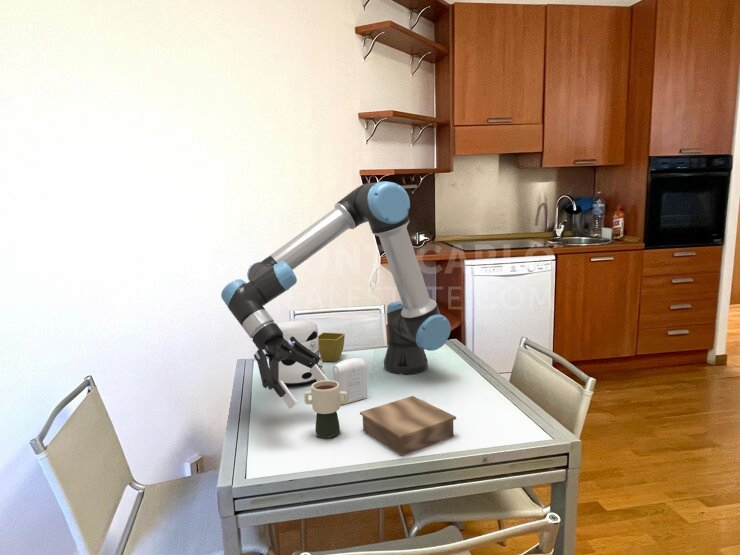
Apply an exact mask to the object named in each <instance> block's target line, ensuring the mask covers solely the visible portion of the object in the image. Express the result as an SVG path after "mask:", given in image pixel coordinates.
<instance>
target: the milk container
mask: <svg viewBox="0 0 740 555" xmlns="http://www.w3.org/2000/svg"><path fill="white" fill-rule="evenodd" d="M276 324H277V325H278V327H279V328H280V329H281V331H282V332H283V338H284V339H285V340H289V339H290V338H291V337H292V336H293V337H295V339H296V340H297V341H298V342H299V343H301V344H302V345H303V346H305V347H306V348H308V349H309V350H310V351H312V352H313V353H315V354H316V355H317V356H319V357H320V360H319V362H318V365H319V367H320V368H321V369H322V370H323V361H322V358H321V355H320V352H319V339H318V336H319V328H318V325H317V323H315V322H313V321H308V320H290V321H283V322H278V323H276ZM290 352H291V351H290ZM310 364H311V363H310ZM268 366H269V370H270V365H269V364H268ZM310 369H311V368H309V367H307V366H304V365H302V364H300V363H298V362H296V361H294V360H292V359H285V360H281V361H280V362H279V381H278V382H280V381H281V380H282V381H283V382H284V384H285V385H286V386H299V385H303V384H309V383H311V382H315V381H317V380H316V379H315V378H314V376H313V375H312V374H311V372H310V371H309V370H310Z"/></svg>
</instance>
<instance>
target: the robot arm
mask: <svg viewBox="0 0 740 555" xmlns="http://www.w3.org/2000/svg"><path fill="white" fill-rule="evenodd" d="M410 209H411V200H410V197H409V194H408V192H407V191H406V189H405V188H404V187H403V186H401V185H400V184H398V183H395V182H392V181H383V180H382V181H378V182H367V183H363V184H361V185H359V186H357V187H356V188H354V190H352V191H350V192H349V193H348V194H347V195H345V196H344V197H343V198H341V199H340V200H339V201H337V202H336V203H335V204H334V208H333V209H332V210H331V211H330V212H328V213H326V214H324V216H322V217H321V218H319V219H318V220H317V221H315V222H314V223H313V224H311V225H310V226H308V227H307V228H306V229H304V231H302V232H301V233H299V234H297V235H296V236H295V237H293V238H292V239H290V240H289V241H288V242H286V243H285V244H284V245H282V246H281V247H279V248H278V249H277V250H275V251H274V252H273V253H271V254H270V255H268V256H267V257H266V258H264V259H263V260H261V261H258V262H255V263H252V264H251V265H250V266H249V267H248V270H247V274H246V276H247V279H248V282H246V281H245V280H243V279H240V278H239V279H236V280H233V281H230V282H229V283H228V284H227V285H225V286H224V287H223V289H222V291H221V294H220V297H221V300H223V302H224V304H225V305H226V307H227V308H228V310H229V311H230V312H231V314H232V315H233V316H234V318H235V319H236V320H237V322H238V323H239V324H240V326H241V327H242V328H243V330H244V331H245V332H246V335H247V336H248V337H249V338H250V339H252V340H251V341H252V342H253V343H254V345H255V346H256V348H257V350H256V351H255V353H254V354H253V357H254V359H255V360H256V363H257V365H258V366H257V367H258V370H259V375H260V379H261V385H262V387H263V388H264V389H267V388H268V390H274V391H275V393H276V394H277V396H278V397H279V398H282V400H283V401H284V402H285V405H286V406H288V408H289V410H290V409H292V408H293V407H294V406H295V405H297V403H298V400H297V399H296V397H295V396H294V395H293V393H292V392H291V390H290V389H289V388H288V387H287V386H288V385H285V384H284V382H283V381H282V380H281V381H280V382H278V381H279V362H280V361H281V360H285V359H292V360H294V361H296V362H298V363H300V364H302V365H304V366H307V367H309V368H311V369H310V370H309V371H310V372H311V374H312V375H313V376H314V378H315V379H316V380H315V381H316V382H317V381H322V380H329V379H328V377H327V375H326V374H325V372H324V370H323V368H322V369H321V368H320V367H319V365H318V362H319V360H320V357H319V356H317V355H316V354H315V353H313V352H312V351H310V350H309V349H308V348H306V347H305V346H303V345H302V344H301V343H299V342H298V341H297V340H296V339H295V337H293V336H292V337H291V338H290V339H289V340H285V339H284V338H283V332H282V331H281V329H280V328H279V327H278V325H277V324H278V323H277V322H275V319H273V317H272V316H271V314H270V313H269V311H267V310H266V308H265V307H264V306H265V305H267V304H268V303H270V302H271V301H273V300H274V299H276V298H278V297H279V296H281V295H283V293H285V292H287V291H289V290H290V289H291V288H292V287H293V286H295V285H296V284H297V281H298V278H297V276H296V274H295V272H294V271H293V270H295V269H297V267H298V266H300V265H302V264H303V263H304V262H306V261H307V260H308V259H309V258H311V257H312V256H314V255H315V254H316V253H318V252H319V251H321V250H322V249H323V248H325V247H326V246H327V245H328V244H330V243H332V242H333V241H334V240H335V239H336V238H338V237H339V236H340V235H342V234H343V233H345V232H346V231H348V230H349V229H350V230H354V229H356V228H357V227H358V226H360V225H362V224H364V223H368V225H369V228H370V230H371V233H372V235H375V236H377V237H379V240H380V244H381V246H382V249H383V252H384V254H385V258H386V261H387V263H388V265H389V268H390V272H391V274H392V278H393V281H394V284H395V287H396V289H397V291H398V296H399V298H400V300H398V301H392V302H390V303H388V305H387V307H386V317H387V318H386V319H387V320H386V321H387V322H386V323H387V348H386V352H385V356H384V359H383V369H384V370H385V371H387V372H389V373H393V374H398V375H412V374H418V373H422V372H424V371H426V370H427V369H428V367H429V366H428V365H429V362H428V358H427V355H426V351H436V350H438V349H441V348H442V347H443V346H444V345H445V344H446V343H447V341H448V340H449V337H450V334H451V331H452V329H451V324H450V321H449V319H448V318H447V317H446V316H444V315H442V314H441V313H440V310H439V307H438V303H437V302H436V300H434V299H432V298H430V294H429V292H428V289H427V286H426V284H425V280H424V276H423V274H422V271H421V267H420V264H419V262H418V258H417V255H416V253H415V249H414V246H413V243H412V240H411V238H410V234H409V230H408V229H407V228H408V225H409V223H410V218H409V210H410ZM425 350H426V351H425ZM290 351H291V352H290ZM310 363H311V364H310ZM269 365H270V370H269Z"/></svg>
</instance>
